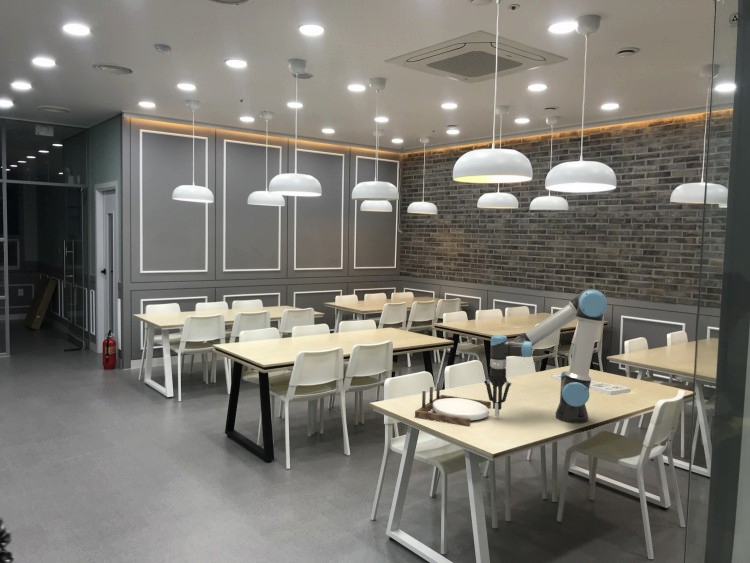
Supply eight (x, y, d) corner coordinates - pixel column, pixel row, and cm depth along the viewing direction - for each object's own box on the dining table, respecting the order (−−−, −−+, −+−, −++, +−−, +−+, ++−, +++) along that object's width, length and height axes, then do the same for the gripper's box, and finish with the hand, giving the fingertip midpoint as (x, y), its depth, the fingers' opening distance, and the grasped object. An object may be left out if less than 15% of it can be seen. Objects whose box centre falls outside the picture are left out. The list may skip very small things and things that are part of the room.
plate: (500, 409, 281) (457, 416, 267) (499, 421, 282) (456, 430, 268) (463, 390, 304) (422, 396, 290) (462, 402, 305) (421, 408, 291)
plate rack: (490, 407, 300) (491, 386, 299) (468, 426, 267) (469, 402, 266) (441, 400, 312) (442, 380, 312) (414, 417, 279) (415, 394, 279)
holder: (550, 379, 371) (550, 375, 371) (569, 377, 381) (570, 373, 380) (610, 396, 333) (610, 391, 333) (630, 392, 342) (630, 388, 342)
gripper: (482, 367, 278) (481, 415, 280) (509, 370, 272) (508, 419, 274) (487, 364, 285) (486, 412, 286) (513, 367, 279) (512, 415, 280)
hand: (496, 415), depth 280 cm, fingers closed
